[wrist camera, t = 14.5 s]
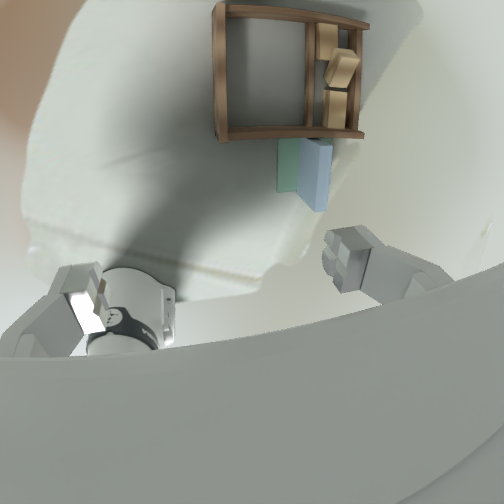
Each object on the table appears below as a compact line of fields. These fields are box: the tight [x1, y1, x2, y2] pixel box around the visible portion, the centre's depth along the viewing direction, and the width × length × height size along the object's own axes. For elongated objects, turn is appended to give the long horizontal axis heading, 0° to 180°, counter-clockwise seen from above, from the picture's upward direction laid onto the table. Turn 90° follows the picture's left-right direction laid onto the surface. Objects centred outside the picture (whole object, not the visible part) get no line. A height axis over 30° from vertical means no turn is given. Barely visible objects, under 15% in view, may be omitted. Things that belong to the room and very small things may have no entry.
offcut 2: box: [321, 90, 347, 129], centre depth 40 cm, size 6×3×2 cm, turn 179°
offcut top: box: [323, 48, 360, 88], centre depth 35 cm, size 6×3×2 cm
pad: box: [277, 138, 332, 193], centre depth 45 cm, size 9×9×1 cm
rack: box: [212, 3, 370, 143], centre depth 34 cm, size 19×22×6 cm
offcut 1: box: [314, 23, 338, 61], centre depth 34 cm, size 6×3×2 cm, turn 2°
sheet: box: [297, 138, 333, 212], centre depth 42 cm, size 10×2×7 cm, turn 0°
